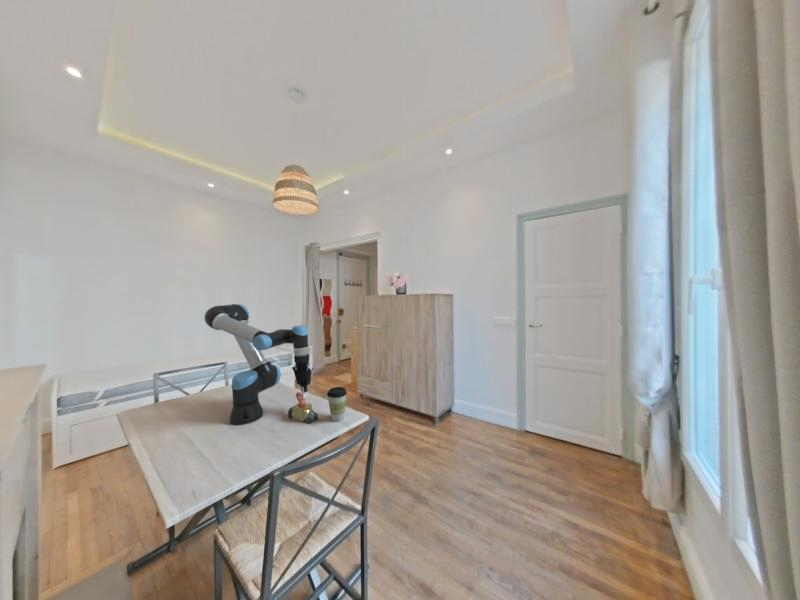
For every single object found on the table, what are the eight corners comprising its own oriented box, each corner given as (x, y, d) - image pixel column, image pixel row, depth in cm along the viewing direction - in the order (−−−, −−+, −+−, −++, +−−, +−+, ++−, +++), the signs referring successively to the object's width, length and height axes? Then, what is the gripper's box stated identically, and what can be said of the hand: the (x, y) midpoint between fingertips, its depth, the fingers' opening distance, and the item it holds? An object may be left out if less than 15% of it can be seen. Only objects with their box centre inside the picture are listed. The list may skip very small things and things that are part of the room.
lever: (306, 405, 140) (305, 400, 139) (299, 406, 138) (299, 401, 138) (301, 395, 152) (300, 391, 151) (294, 397, 150) (294, 392, 150)
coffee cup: (343, 424, 134) (342, 394, 133) (324, 422, 136) (323, 393, 135) (350, 414, 144) (349, 387, 143) (333, 413, 145) (332, 385, 145)
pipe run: (287, 419, 141) (286, 404, 141) (295, 413, 147) (295, 400, 146) (310, 425, 135) (309, 410, 134) (318, 419, 140) (318, 405, 139)
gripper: (287, 355, 145) (290, 398, 146) (305, 357, 139) (308, 402, 141) (298, 352, 151) (301, 393, 153) (315, 353, 146) (318, 396, 148)
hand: (304, 397), depth 147 cm, fingers closed
